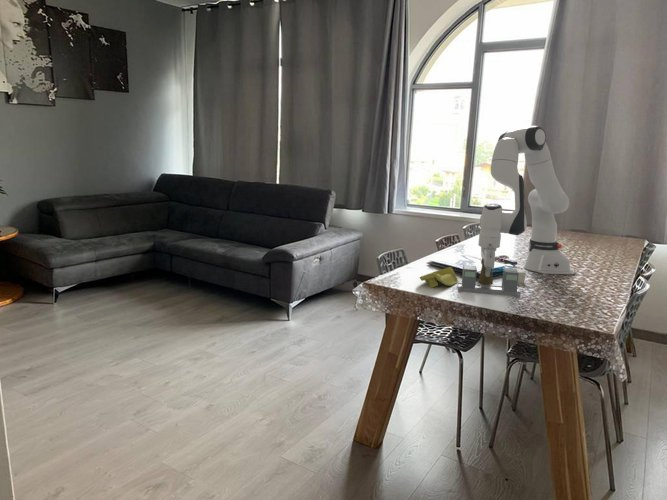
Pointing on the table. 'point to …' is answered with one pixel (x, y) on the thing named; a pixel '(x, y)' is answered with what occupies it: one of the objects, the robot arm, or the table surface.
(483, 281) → the cork
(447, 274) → the plastic component
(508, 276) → the block
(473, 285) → the block
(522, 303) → the table surface
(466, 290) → the rail
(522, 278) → the beige block
